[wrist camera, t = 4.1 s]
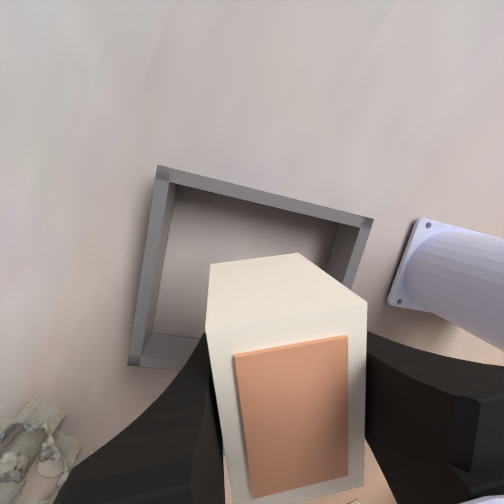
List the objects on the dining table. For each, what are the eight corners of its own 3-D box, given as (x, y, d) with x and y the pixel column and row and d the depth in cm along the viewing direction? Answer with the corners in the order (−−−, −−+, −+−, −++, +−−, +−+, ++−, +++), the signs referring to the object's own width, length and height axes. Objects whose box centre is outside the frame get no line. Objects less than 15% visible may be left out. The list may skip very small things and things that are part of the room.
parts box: (297, 252, 13) (370, 304, 7) (303, 368, 14) (365, 490, 8) (210, 264, 12) (204, 331, 6) (227, 382, 14) (235, 523, 8)
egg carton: (108, 479, 23) (85, 539, 19) (23, 504, 22) (-18, 571, 18) (64, 389, 20) (27, 437, 16) (-35, 414, 19) (-98, 470, 16)
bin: (351, 215, 20) (374, 219, 17) (305, 360, 23) (319, 384, 20) (167, 169, 17) (157, 164, 14) (140, 340, 20) (127, 365, 17)
